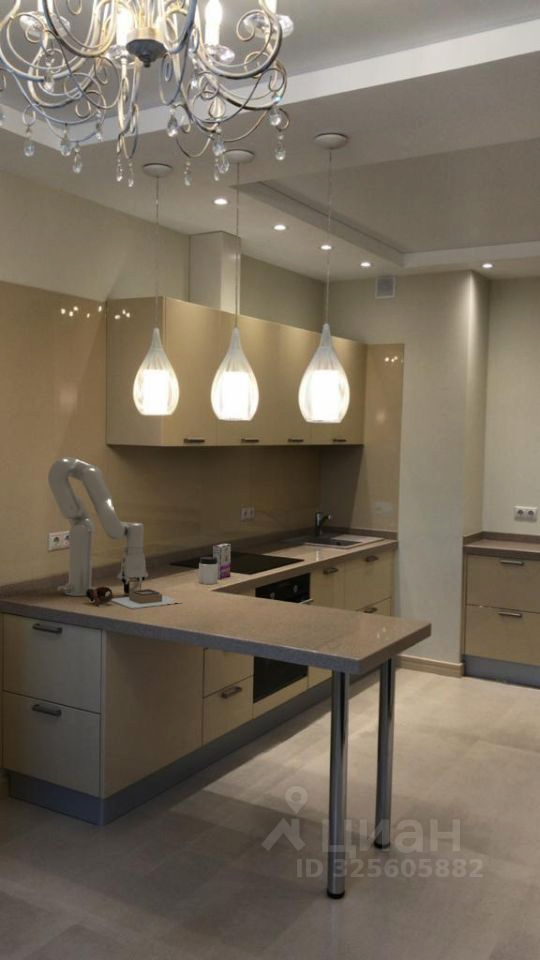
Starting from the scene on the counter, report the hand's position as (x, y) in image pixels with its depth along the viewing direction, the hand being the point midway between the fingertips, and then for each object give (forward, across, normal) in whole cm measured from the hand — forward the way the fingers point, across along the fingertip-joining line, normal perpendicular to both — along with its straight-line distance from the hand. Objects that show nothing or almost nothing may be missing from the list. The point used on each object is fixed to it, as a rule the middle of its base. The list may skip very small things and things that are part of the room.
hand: (132, 591), depth 367 cm
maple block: (+1, 0, 0) cm, 1 cm away
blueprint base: (+1, -3, -16) cm, 17 cm away
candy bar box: (+1, +60, +19) cm, 63 cm away
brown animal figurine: (+2, -21, -11) cm, 24 cm away
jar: (+1, +46, +10) cm, 47 cm away
